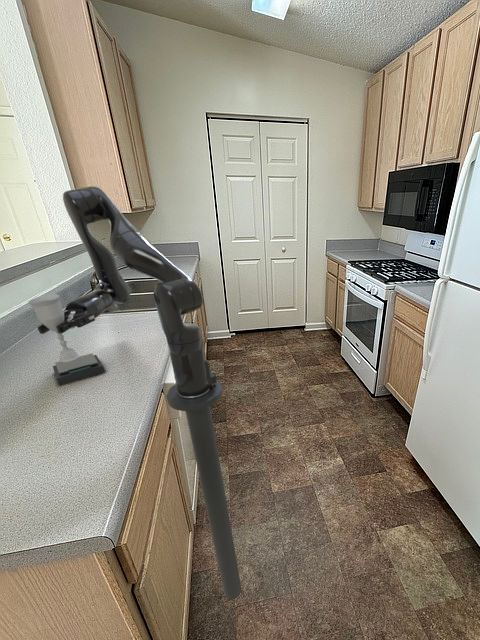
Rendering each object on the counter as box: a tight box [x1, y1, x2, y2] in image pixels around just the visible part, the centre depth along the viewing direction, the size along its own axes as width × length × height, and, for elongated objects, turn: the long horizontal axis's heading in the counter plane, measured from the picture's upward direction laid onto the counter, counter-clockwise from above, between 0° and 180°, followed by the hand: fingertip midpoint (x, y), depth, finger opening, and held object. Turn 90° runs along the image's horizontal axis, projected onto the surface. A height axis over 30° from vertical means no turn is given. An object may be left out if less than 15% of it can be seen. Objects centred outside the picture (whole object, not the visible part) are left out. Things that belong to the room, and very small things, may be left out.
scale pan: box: [54, 352, 98, 374], centre depth 110 cm, size 11×9×1 cm
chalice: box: [27, 294, 80, 362], centre depth 93 cm, size 7×7×18 cm
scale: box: [52, 354, 106, 387], centre depth 110 cm, size 13×11×3 cm
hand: (49, 330), depth 90 cm, fingers closed on chalice, 4 cm apart
